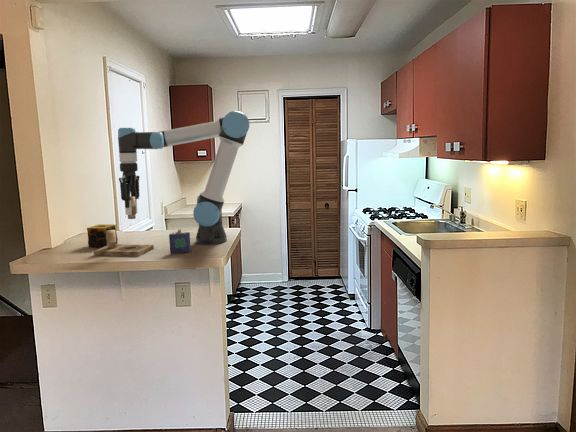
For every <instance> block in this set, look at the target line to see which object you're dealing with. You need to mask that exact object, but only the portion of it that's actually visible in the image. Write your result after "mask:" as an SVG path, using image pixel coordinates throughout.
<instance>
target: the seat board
mask: <svg viewBox="0 0 576 432" xmlns="http://www.w3.org/2000/svg"><path fill="white" fill-rule="evenodd" d="M106 238H107V246H105V247H103V248H97V249H96V250H93V256H94V255H110V256H109V257H141V256H142V255H145V254H146V253H149V252H151V251H153V250H154V249H155V248H154V244H128V243H127V244H123V243H122V244H119V243H117V244H116V234H115V230H107V231H106Z"/></svg>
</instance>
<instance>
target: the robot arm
mask: <svg viewBox="0 0 576 432" xmlns="http://www.w3.org/2000/svg"><path fill="white" fill-rule="evenodd" d="M249 129H250V120H249V118H248V116H247V115H246V114H245V113H244V112H242V111H238V110H231V111H229V112H227V113H226V115H224V117H219V118H217V120H214V121H211V122H210V121H209V122H204V123H198V124H193V125H188V126H183V127H178V128H172V129H167V130H161V131H140V132H139V131H136V128H135V127H119V128H118V129H117V141H118V154H119V155H118V157H119V162H120V163H119V170H120V172H122V176H121V177H119V178H118V182H119V185H120V186H119V187H120V199H121V201H124V207H125V208H124V210H125V215H126V216H128V215H132V207H131V200H130V196H135V203H136V214H138V201H137V200H140V199H139V198H140V176H139V175H137V174H136V172H138V163H137V162H138V156H137V155H138V154H137V153H138V152H137V150H160V149H161V150H162V149H163V148H167V147H174V146H177V145H183V144H188V143H193V142H198V141H203V140H204V141H205V140H209V139H214V138H219V141H220V142H219V145H218V148H217V151H216V154H215V156H214V157H215V158H214V160H213V164H212V166H211V169H210V174H209V176H208V179H207V183H206V185H205V188H204V190H203V191H201V192H199V193H200V194H199V195H198V196H197V198H196V204H195V207H194V208H193V211H192V212H193V219H194V221H195V222H196V223H197V224H198V228H197V230H196V231H197V232H196V235H195V242H196V244H199V245H215V244H216V243H217V244H221V243H225V242H227V238H228V237H227V236H228V235H227V234H226V232H225V229H224V226H223V211H222V210H223V206H224V204H225V200H224V198H223V196H224V193H225V190H226V188H227V184H228V181H229V178H230V175H231V172H232V169H233V165H234V163H235V160H236V156H237V153H238V150H239V148H240V147H242V146H243V145H244V142H245V141H246V137H247V134H248V131H249Z"/></svg>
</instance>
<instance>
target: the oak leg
mask: <svg viewBox="0 0 576 432" xmlns="http://www.w3.org/2000/svg"><path fill="white" fill-rule="evenodd" d="M130 200H131V207H132V215H127V219H129V220H135V219H137V217H136V216H137V213H136V203H135V196H131V195H130Z"/></svg>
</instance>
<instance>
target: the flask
mask: <svg viewBox="0 0 576 432" xmlns="http://www.w3.org/2000/svg"><path fill="white" fill-rule="evenodd" d="M168 237H169V239H168V240H169V250H170V251H169V252H170V255H177V254H185V253H191V252H192V248H191V247H192V245H191V233H190V231H185V232H182V229H180V228H179V229H177V231H175V232H172V233H169V234H168ZM190 251H191V252H190Z"/></svg>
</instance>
